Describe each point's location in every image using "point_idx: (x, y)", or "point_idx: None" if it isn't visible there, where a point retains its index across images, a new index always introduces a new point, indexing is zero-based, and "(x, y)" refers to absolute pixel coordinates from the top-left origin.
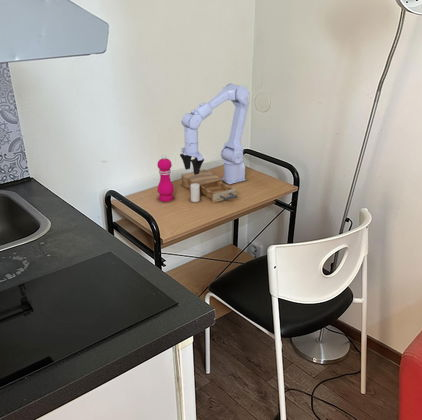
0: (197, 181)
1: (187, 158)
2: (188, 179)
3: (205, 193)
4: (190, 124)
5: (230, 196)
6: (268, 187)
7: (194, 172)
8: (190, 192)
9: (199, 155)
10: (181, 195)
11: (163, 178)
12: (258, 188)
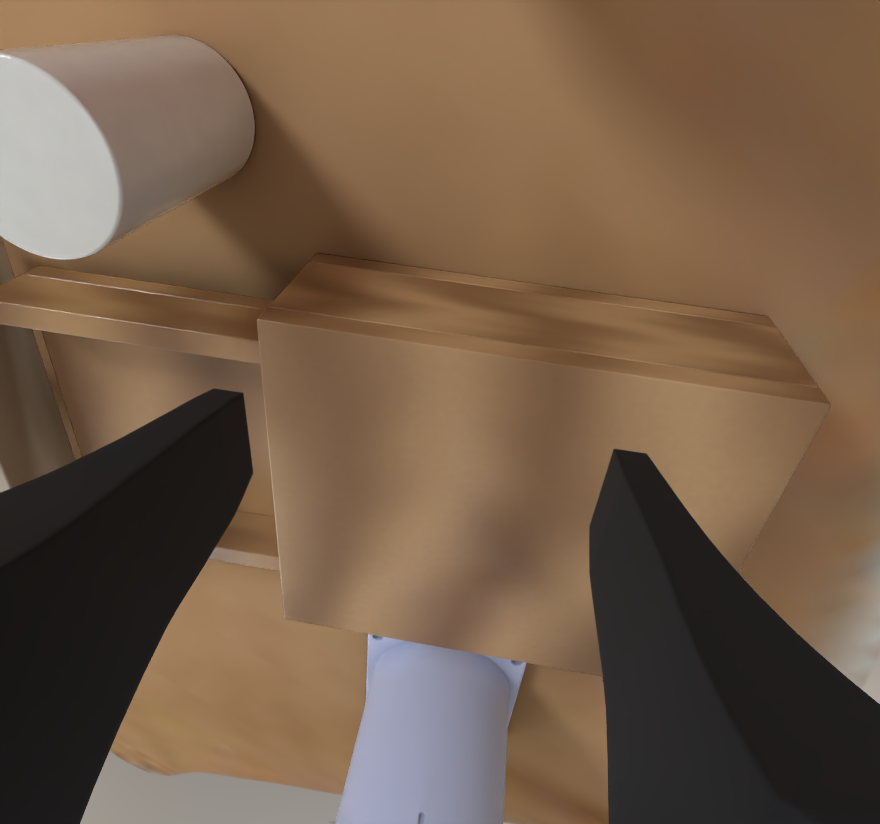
0: (373, 391)
1: (652, 760)
2: (573, 359)
3: (176, 296)
4: None
5: None
6: (177, 704)
7: (178, 408)
8: (127, 51)
9: None
10: (453, 45)
11: None
12: (191, 668)
